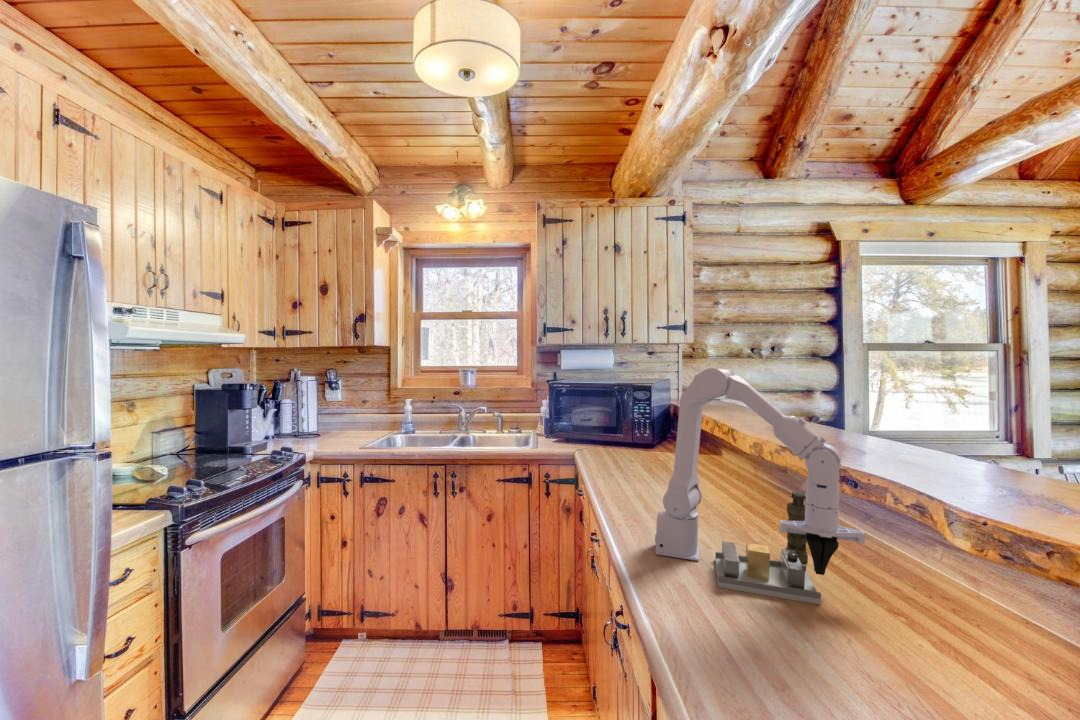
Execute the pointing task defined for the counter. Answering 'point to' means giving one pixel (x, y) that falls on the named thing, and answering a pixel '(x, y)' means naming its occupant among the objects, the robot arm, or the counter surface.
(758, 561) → the block
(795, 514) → the grenade
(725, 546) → the fixed jaw
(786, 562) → the bar
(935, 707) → the counter surface
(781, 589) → the board
